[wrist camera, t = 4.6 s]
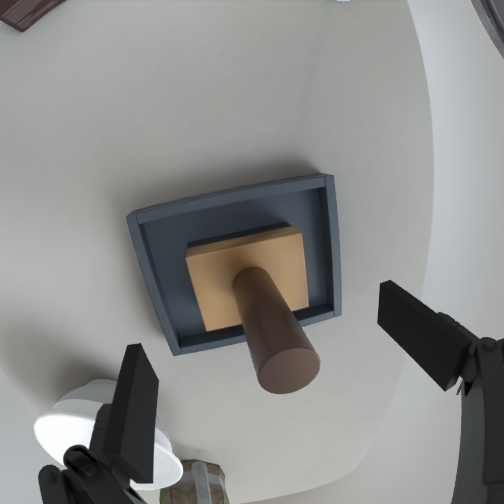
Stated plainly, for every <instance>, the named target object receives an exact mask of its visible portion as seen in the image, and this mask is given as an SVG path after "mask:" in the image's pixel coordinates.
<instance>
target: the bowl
mask: <svg viewBox="0 0 504 504" xmlns="http://www.w3.org/2000/svg"><path fill="white" fill-rule="evenodd" d="M116 385H117V381H115V380H110V379H95V380H92V381H89V382H88V383H86V384H85V386H82V387H79V388H76V389H74V390H72V391H70V392H68V393H67V394H65V395H63V396H62V397H61V398H60V399H59V400H58V401H57V402H56V403H55V404H54V405H53V406H52V408H51V410H50V412H47V413H43V414H40V415H39V416H38V417H37V418H36V419H35V421H34V425H33V427H34V433H35V435H36V438H37V440H38V441H39V443H40V444H41V446H42V447H43V448H44V449H45V450H46V451H47V452H48V453H49V454H50V455H51V456H52V457H53V458H54V459H56V460H57V461H58V462H60V463H61V464H63V465H64V463H63V456H64V453H65V452H66V450H67V449H68V448H69V447H71V446H73V445H79V444H81V445H84V446H86V447H87V448H88V449H89V445H90V440H91V436H92V431H93V430H94V428H93V427H94V423H95V419H96V415H97V412H98V410H99V409H100V408H101V406H102V405H103V404H109V403H112V401H113V397H114V393H115V389H116ZM65 467H66V466H65ZM182 474H183V466H182V464H181V462H180V461H179V459H178V458H177V457H176V456H175V455H174V454H173V453H172V447H171V444H170V441H169V438H168V434H167V432H166V430H165V428H164V427H163V425H162V423H161V422H160V420H159V418H158V417H157V416H156V423H155V441H154V472H153V484H137V483H135V482H134V481H133V480H132V479H131V478H130V486H131V487H132V488H133V489H134V490H155V489H161V488H165V487H169V486H171V485H173V484H175V483H176V482H177V481H179V480H180V479H181V476H182Z"/></svg>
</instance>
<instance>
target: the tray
mask: <svg viewBox="0 0 504 504" xmlns="http://www.w3.org/2000/svg"><path fill="white" fill-rule="evenodd" d="M126 219H127V223H128V227H129V230H130V234H131V238H132V241H133V245H134V248H135V251H136V255H137V258H138V261H139V264H140V268H141V271H142V274H143V277H144V280H145V283H146V286H147V289H148V292H149V295H150V297H151V300H152V303H153V306H154V309H155V311H156V314H157V317H158V319H159V322H160V324H161V327H162V330H163V332H164V335H165V337H166V340H167V342H168V344H169V347H170V349H171V352H172V354H173V356H177V355H182V354H188V353H193V352H198V351H204V350H209V349H213V348H218V347H223V346H228V345H232V344H237V343H241V342H245V341H247V340H246V337H245V333H244V329H243V326H242V324H238V325H234V326H229V327H225V328H220V329H216V330H211V331H206V328H205V325H204V322H203V319H202V315H201V312H200V309H199V305H198V302H197V298H196V295H195V291H194V288H193V284H192V281H191V277H190V273H189V270H188V266H187V262H186V251H187V243H188V242H193V241H197V240H202V239H206V238H211V237H216V236H220V235H225V234H229V233H234V232H239V231H244V230H248V229H253V228H258V227H263V226H267V225H272V224H277V223H282V222H288V223H289V224H291V225H292V226H293V227H295V228H296V229H297V230H299V231H300V232H301V233H302V239H303V248H304V258H305V268H306V279H307V290H308V303H309V306H308V307H306V308H302V309H298V310H294V311H292V313H293V314H294V316H295V318H296V319H297V321H298V323H299V324H300V326H301V327H303V326H307V325H310V324H314V323H317V322H320V321H324V320H327V319H330V318H333V317H337V316H340V315H341V265H340V244H339V228H338V215H337V204H336V193H335V183H334V176H333V175H329V174H315V175H308V176H301V177H295V178H288V179H282V180H276V181H270V182H264V183H259V184H253V185H248V186H242V187H237V188H232V189H227V190H222V191H217V192H212V193H208V194H203V195H198V196H194V197H189V198H185V199H181V200H176V201H172V202H168V203H164V204H160V205H155V206H151V207H148V208H144V209H140V210H136V211H133V212H131V213H130V214H129V215H128V216H126Z"/></svg>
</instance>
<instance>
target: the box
mask: <svg viewBox="0 0 504 504" xmlns="http://www.w3.org/2000/svg"><path fill="white" fill-rule="evenodd" d="M63 1H64V0H0V20H1V21H3V22H4V23H6V24H8V25H10V26H11V27H13V28H15V29H17V30H19V31H21V32H23V31H25V30H26V29H27V28H28V27H29V26H30V25H32V24H33V23H34V22H35V21H37V20H38V19H39V18H41V17H42V16H43V15H45V14H46V13H47V12H49V11H50V10H51V9H53V8H54V7H56V6H57V5H58V4H60V3H61V2H63Z"/></svg>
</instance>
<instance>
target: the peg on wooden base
mask: <svg viewBox="0 0 504 504" xmlns="http://www.w3.org/2000/svg"><path fill="white" fill-rule="evenodd" d="M186 262H187V266H188V270H189V273H190V277H191V281H192V284H193V288H194V291H195V295H196V298H197V302H198V305H199V309H200V312H201V315H202V319H203V322H204V325H205V328H206V331H211V330H216V329H220V328H225V327H229V326H234V325H238V324H242V326H243V329H244V333H245V337H246V340H247V344H248V347H249V351H250V354H251V358H252V361H253V364H254V368H255V371H256V375H257V378H258V381H259V384H260V385H261V387H262V388H263V389H265V390H266V391H268V392H271V393H274V394H287V393H292V392H295V391H297V390H300V389H302V388H303V387H305V386H307V385H308V384H309V383H310V382H311V381H312V380H313V379H314V378H315V377H316V375H317V374H318V372H319V369H320V358H319V356H318V354H317V353H316V351H315V349H314V348H313V346H312V344H311V343H310V341H309V339H308V338H307V336H306V334H305V333H304V331H303V329H302V328H301V326H300V324H299V323H298V321H297V319H296V318H295V316H294V314H293V313H292V311H294V310H298V309H302V308H306V307H308V306H309V303H308V290H307V279H306V268H305V258H304V248H303V239H302V233H301V232H300V231H299V230H297V229H296V228H295V227H293V226H292V225H291V224H289V223H288V222H282V223H277V224H272V225H267V226H263V227H258V228H253V229H248V230H244V231H239V232H234V233H229V234H225V235H220V236H216V237H211V238H206V239H202V240H197V241H193V242H188V243H187V251H186Z"/></svg>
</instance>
